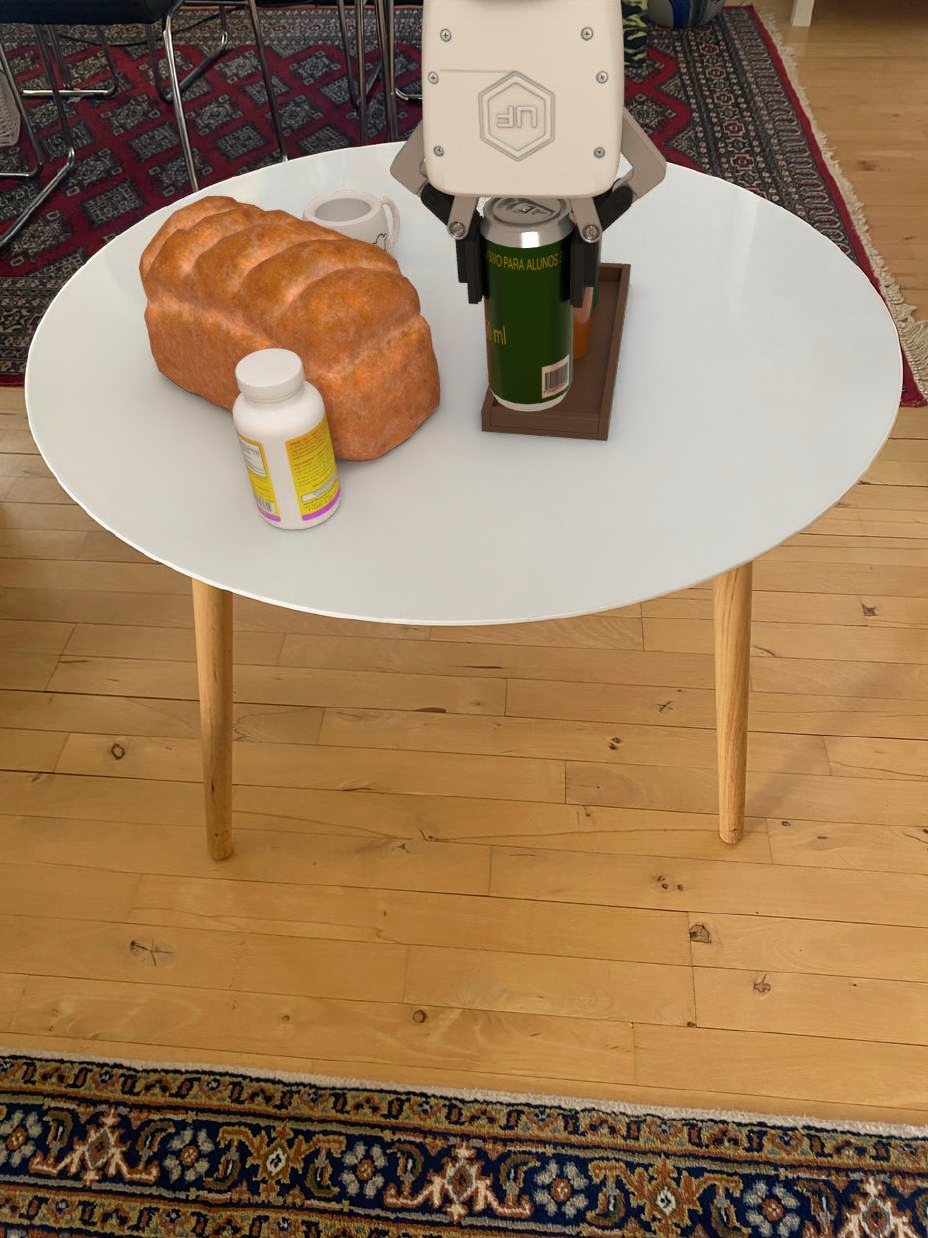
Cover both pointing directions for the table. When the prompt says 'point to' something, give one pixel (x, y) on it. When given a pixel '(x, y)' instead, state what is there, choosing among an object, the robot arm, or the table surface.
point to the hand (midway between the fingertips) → (528, 291)
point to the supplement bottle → (285, 440)
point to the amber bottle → (582, 323)
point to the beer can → (528, 300)
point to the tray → (578, 375)
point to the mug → (355, 216)
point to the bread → (291, 317)
